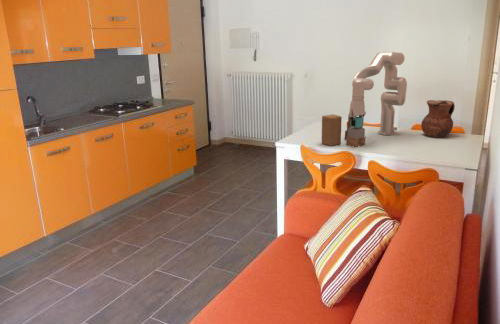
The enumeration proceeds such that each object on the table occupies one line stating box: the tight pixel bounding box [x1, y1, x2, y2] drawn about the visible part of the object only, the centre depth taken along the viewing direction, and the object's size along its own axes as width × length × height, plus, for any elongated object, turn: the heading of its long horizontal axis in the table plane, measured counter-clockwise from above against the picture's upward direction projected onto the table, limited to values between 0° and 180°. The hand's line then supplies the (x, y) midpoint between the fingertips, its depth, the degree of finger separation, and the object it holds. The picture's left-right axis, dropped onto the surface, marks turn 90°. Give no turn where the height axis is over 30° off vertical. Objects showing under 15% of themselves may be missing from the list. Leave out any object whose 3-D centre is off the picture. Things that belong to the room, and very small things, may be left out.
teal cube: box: [350, 116, 364, 128], centre depth 276 cm, size 6×6×6 cm
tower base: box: [345, 136, 366, 148], centre depth 280 cm, size 9×9×6 cm
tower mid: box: [347, 127, 366, 139], centre depth 279 cm, size 8×8×6 cm
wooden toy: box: [344, 115, 364, 140], centre depth 297 cm, size 16×7×25 cm, turn 138°
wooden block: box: [321, 114, 342, 147], centre depth 284 cm, size 10×10×20 cm
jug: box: [421, 99, 455, 138], centre depth 296 cm, size 22×21×25 cm
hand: (356, 124), depth 277 cm, fingers closed on teal cube, 6 cm apart
